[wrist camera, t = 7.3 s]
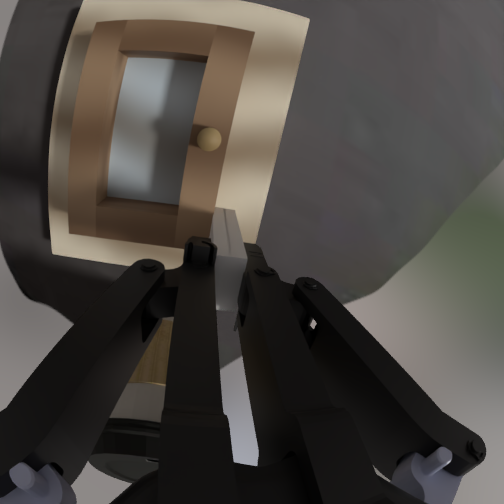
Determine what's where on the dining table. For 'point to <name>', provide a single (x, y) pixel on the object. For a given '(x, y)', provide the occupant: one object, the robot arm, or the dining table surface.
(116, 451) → the coffee cup
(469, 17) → the dining table surface
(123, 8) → the beige cloth
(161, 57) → the frame
